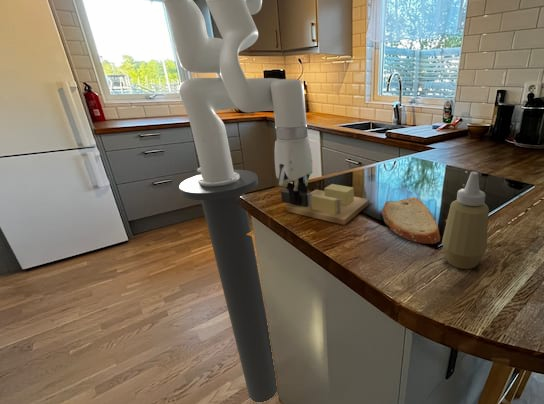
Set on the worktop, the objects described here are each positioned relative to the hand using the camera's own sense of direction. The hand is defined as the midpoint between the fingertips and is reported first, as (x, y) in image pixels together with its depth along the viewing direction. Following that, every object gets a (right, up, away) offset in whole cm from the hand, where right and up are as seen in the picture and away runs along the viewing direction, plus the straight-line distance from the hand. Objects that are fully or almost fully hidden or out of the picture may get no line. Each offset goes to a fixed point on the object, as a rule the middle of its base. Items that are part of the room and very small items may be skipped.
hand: (299, 201), depth 80 cm
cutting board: (+8, -2, +1) cm, 8 cm away
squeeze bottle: (+36, -12, -22) cm, 44 cm away
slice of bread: (+29, -5, -7) cm, 31 cm away
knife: (+4, -1, -1) cm, 4 cm away
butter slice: (+8, -2, -4) cm, 9 cm away
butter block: (+11, 0, +2) cm, 11 cm away
